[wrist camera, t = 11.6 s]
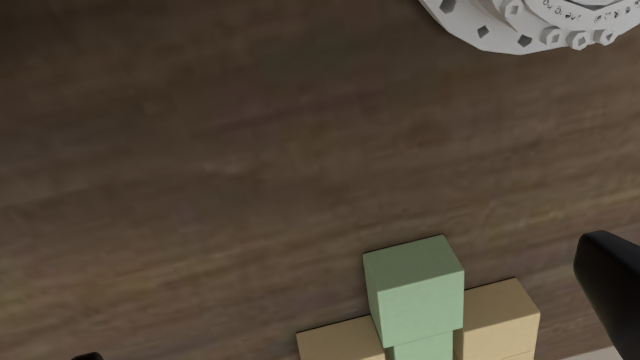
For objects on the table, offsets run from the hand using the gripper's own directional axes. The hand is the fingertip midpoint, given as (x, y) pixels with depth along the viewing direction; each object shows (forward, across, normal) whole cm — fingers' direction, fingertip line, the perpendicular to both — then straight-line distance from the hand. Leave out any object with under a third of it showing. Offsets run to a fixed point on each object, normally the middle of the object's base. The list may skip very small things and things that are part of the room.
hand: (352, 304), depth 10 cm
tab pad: (+11, -5, +14) cm, 18 cm away
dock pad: (+11, -5, +17) cm, 21 cm away
